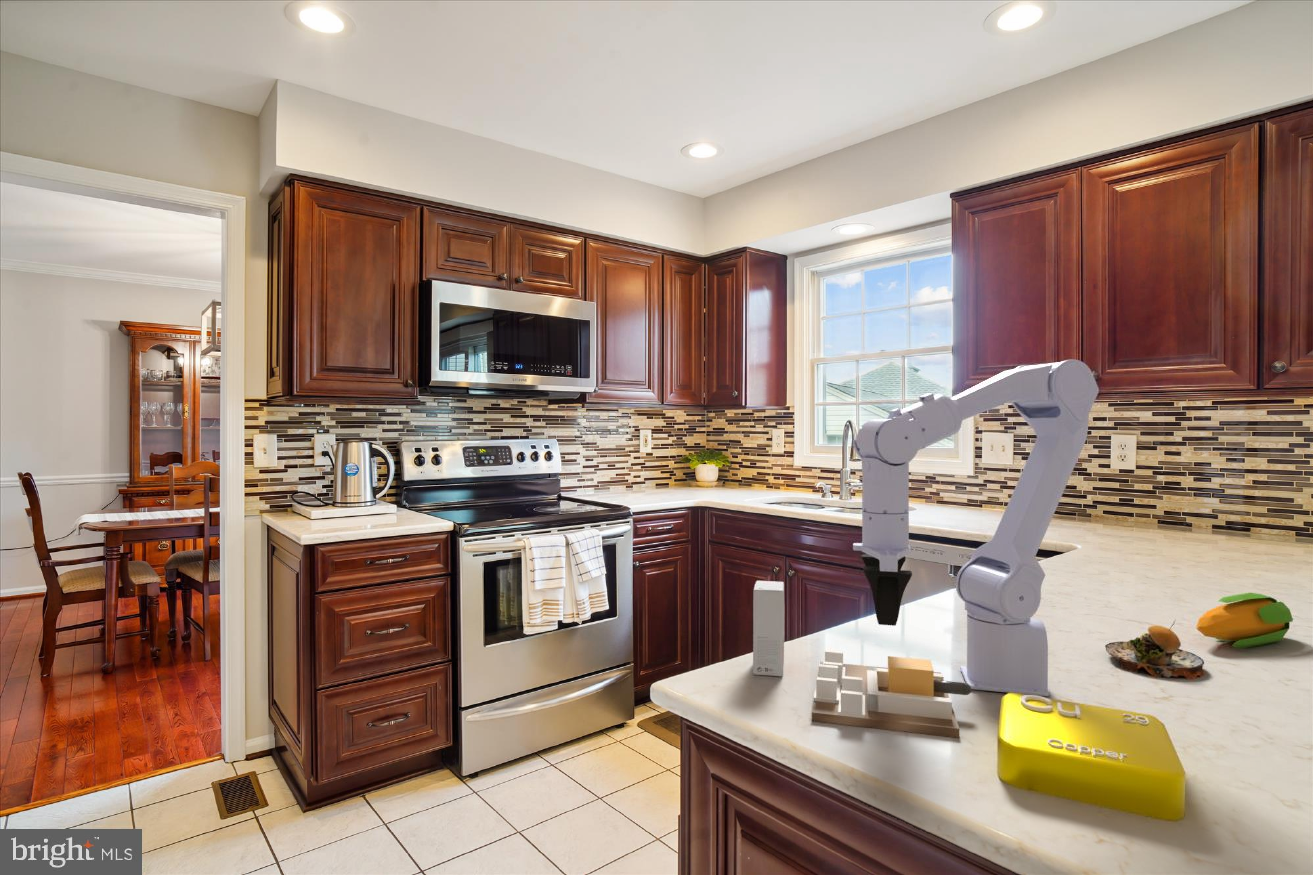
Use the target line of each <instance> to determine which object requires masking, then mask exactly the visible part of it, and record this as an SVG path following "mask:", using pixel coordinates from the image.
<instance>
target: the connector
mask: <svg viewBox="0 0 1313 875" xmlns="http://www.w3.org/2000/svg"><path fill="white" fill-rule="evenodd" d="M887 668H888V692H892V693H902V694H912V695H922V696H932V697H934V692H938V693H948V695H949V694H950V695H959V696H969V695H970V694H971V693H972V689H971V687H970V685H969V684H967V683H966V682H962V681H961V682H960V681H950V680H944V681H940V680H934V672H935V671H934V668H933V665H932V662H931V659H925V658H914V657H913V658H912V657H903V656H902V657H901V656H891V655H889V656H887Z"/></svg>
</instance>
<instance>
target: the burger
mask: <svg viewBox="0 0 1313 875" xmlns="http://www.w3.org/2000/svg"><path fill="white" fill-rule="evenodd" d="M1176 620H1177V619H1176V618H1175V620H1174V621H1173V623H1172V625H1171V626H1170V628H1167V627H1166V626H1162V625H1158V624H1157V625H1156V624H1155V625H1151V626H1149V627H1148V628H1147V631H1148V632H1145V633H1142V634H1141V635H1140V637H1135V639H1129V640H1128V641H1114V642H1109V643H1107V644H1105V645H1104V647H1105V651H1106V653H1108V655H1110V656H1111V657H1114V658H1115V659H1116V660H1118V661H1119V662H1120V667H1121V669H1122V670H1123V669H1125V670H1127V671H1128V672H1133V673H1136V674H1138V673H1139V672H1138V671H1139V669H1140V668H1141V669H1142V668H1143V669H1145V670H1146V671H1147V673H1149V674H1150V675H1151V676H1153V677H1156V678H1162V677H1163V678H1165V679H1169V678H1170V677H1176V678H1178V676H1183V677H1184V678H1185V679H1186V680H1190V679H1193V680H1194V679H1196V677H1198V676H1199V678H1201V677H1203V676H1205V675H1206V671H1205V669H1203V668H1204V665H1205V660H1203V658H1201V657H1200V656H1199V655H1197V654H1195V653H1193V652H1190V651H1187V650H1183V649H1180V648H1181V646H1182V644H1181V641H1180V638H1179V637H1178V635H1177V634H1176V633H1175V632H1174V631H1173V630H1171V628H1172V627H1173V626H1174V625H1175V622H1176Z"/></svg>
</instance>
